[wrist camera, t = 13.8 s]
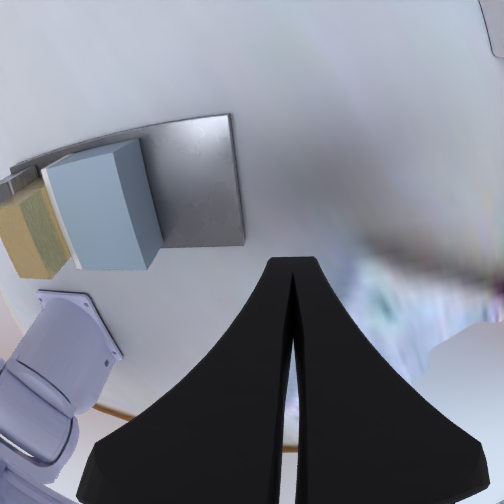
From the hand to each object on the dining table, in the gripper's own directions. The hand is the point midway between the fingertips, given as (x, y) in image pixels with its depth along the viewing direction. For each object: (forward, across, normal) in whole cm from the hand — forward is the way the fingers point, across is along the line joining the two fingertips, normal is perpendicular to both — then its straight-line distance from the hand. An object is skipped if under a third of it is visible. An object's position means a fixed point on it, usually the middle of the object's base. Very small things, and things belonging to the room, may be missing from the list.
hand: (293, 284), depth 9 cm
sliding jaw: (+9, +11, 0) cm, 14 cm away
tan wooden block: (+9, +16, 0) cm, 18 cm away
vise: (+9, +12, 0) cm, 15 cm away
